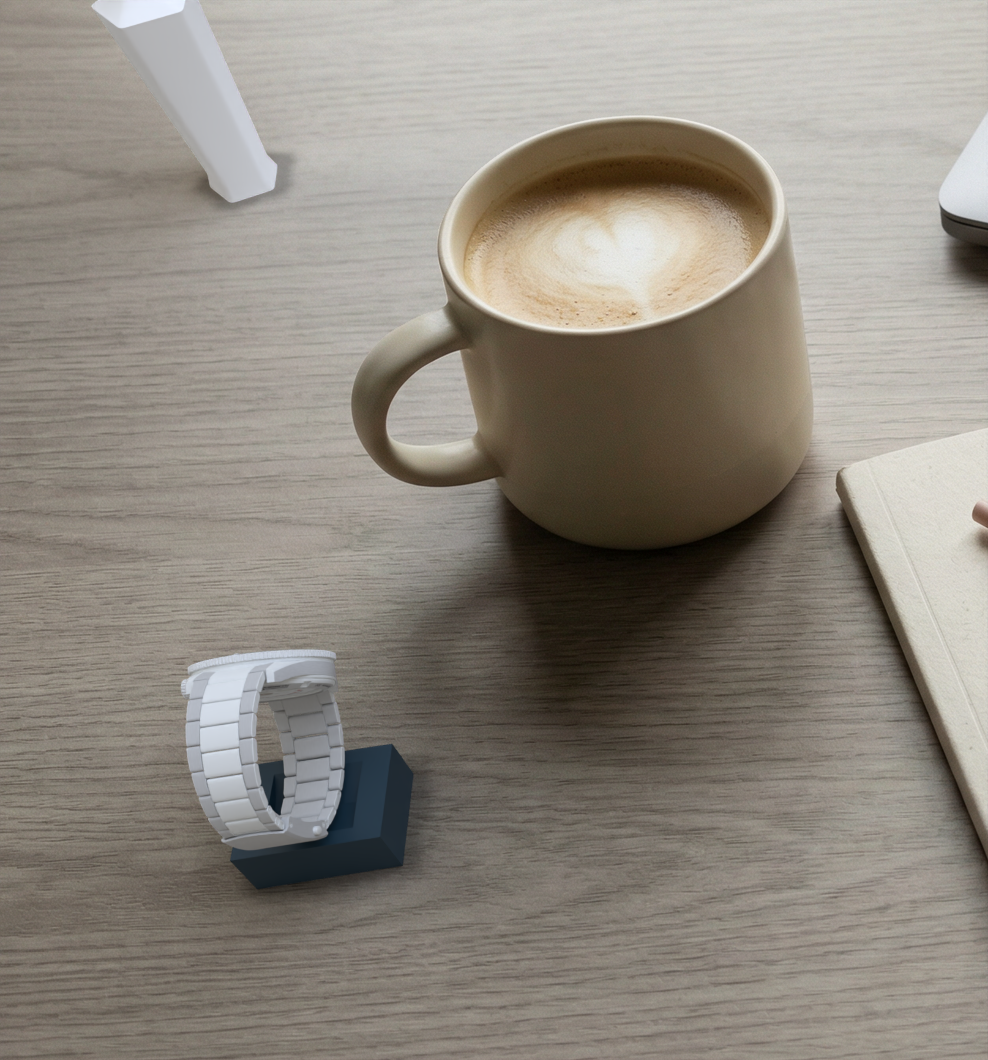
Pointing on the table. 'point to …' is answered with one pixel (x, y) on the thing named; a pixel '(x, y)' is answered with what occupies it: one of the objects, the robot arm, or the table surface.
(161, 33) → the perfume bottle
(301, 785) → the watch
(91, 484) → the table surface
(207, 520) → the table surface
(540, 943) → the table surface
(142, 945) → the table surface
